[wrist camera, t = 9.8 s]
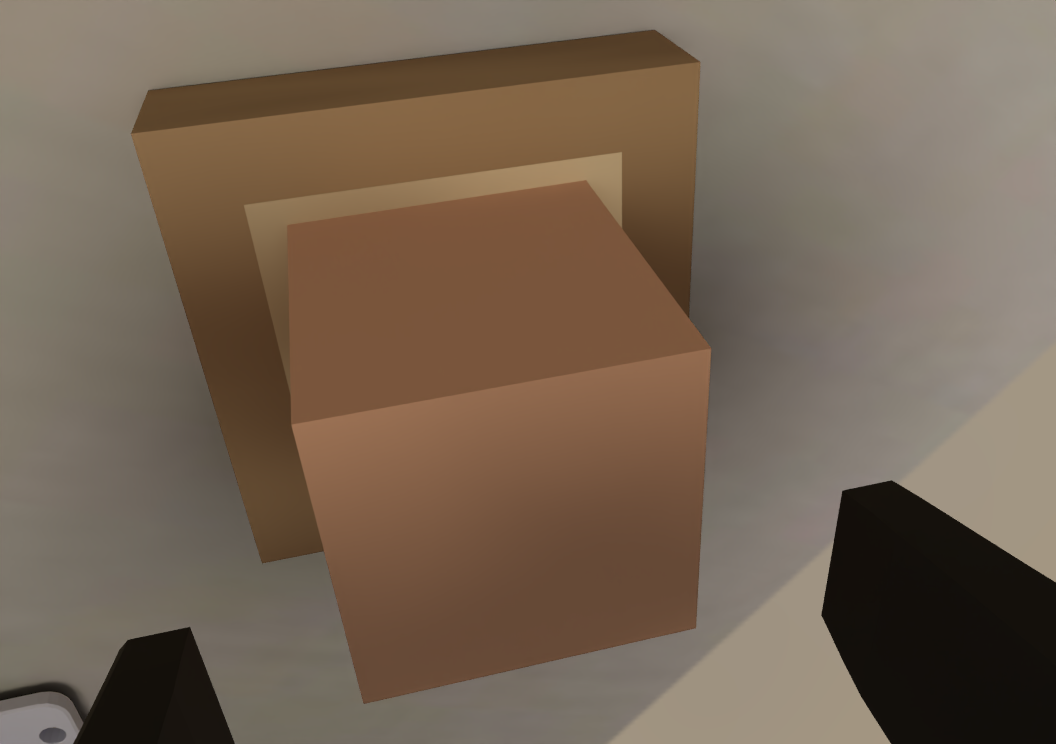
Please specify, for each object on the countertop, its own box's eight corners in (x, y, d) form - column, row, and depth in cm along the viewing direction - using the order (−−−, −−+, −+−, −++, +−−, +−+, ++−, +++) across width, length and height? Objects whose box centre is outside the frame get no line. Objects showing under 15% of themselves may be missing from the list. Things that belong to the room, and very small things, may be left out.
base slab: (647, 421, 20) (681, 480, 18) (263, 492, 18) (262, 563, 17) (655, 30, 15) (700, 62, 14) (147, 90, 14) (131, 134, 12)
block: (593, 416, 17) (695, 628, 13) (341, 464, 16) (364, 703, 12) (586, 180, 14) (710, 347, 10) (286, 225, 13) (290, 424, 9)
